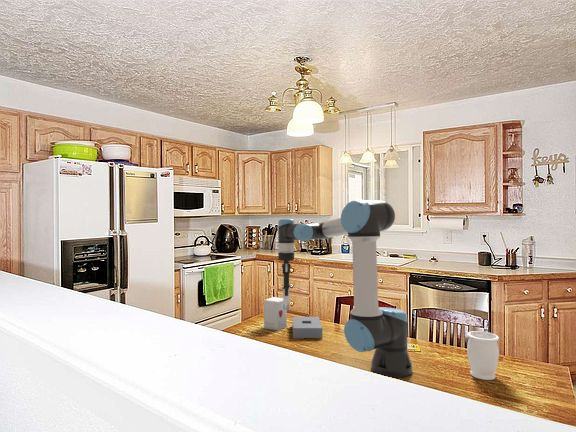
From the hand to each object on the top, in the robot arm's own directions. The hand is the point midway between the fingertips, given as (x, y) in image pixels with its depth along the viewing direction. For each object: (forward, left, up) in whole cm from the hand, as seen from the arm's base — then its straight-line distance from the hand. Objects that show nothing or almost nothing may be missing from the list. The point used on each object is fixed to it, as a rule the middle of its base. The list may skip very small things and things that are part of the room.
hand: (286, 301), depth 176 cm
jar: (-39, -72, -19) cm, 84 cm away
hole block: (+13, -10, -19) cm, 25 cm away
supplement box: (+21, +6, -19) cm, 29 cm away
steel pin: (0, 0, -4) cm, 4 cm away
